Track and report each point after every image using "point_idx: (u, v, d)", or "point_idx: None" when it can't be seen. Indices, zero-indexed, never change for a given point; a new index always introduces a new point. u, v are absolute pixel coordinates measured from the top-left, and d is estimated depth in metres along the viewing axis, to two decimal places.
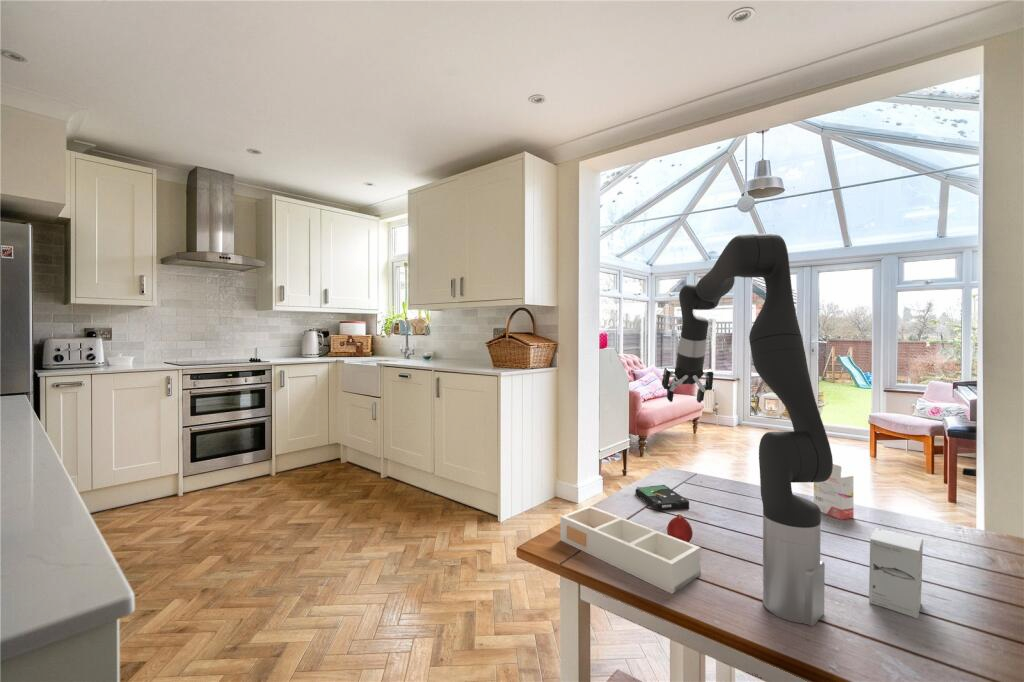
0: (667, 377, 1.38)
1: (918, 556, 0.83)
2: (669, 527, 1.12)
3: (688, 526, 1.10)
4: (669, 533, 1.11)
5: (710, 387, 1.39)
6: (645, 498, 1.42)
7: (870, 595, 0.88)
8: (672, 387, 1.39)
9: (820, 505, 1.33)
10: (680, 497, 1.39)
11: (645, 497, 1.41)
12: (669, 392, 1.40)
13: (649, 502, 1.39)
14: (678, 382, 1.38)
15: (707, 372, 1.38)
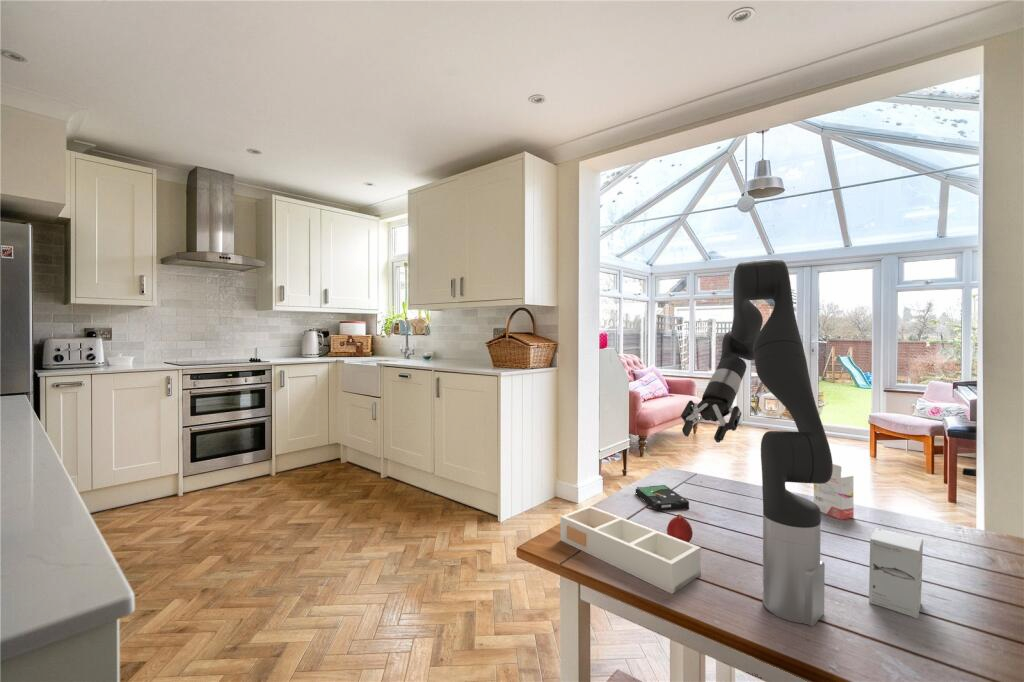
0: (688, 406, 1.28)
1: (918, 556, 0.83)
2: (669, 527, 1.12)
3: (688, 526, 1.10)
4: (669, 533, 1.11)
5: (731, 421, 1.17)
6: (645, 498, 1.42)
7: (870, 595, 0.88)
8: (689, 416, 1.25)
9: (820, 505, 1.33)
10: (680, 497, 1.39)
11: (645, 497, 1.41)
12: (686, 423, 1.25)
13: (649, 502, 1.39)
14: (696, 410, 1.25)
15: None
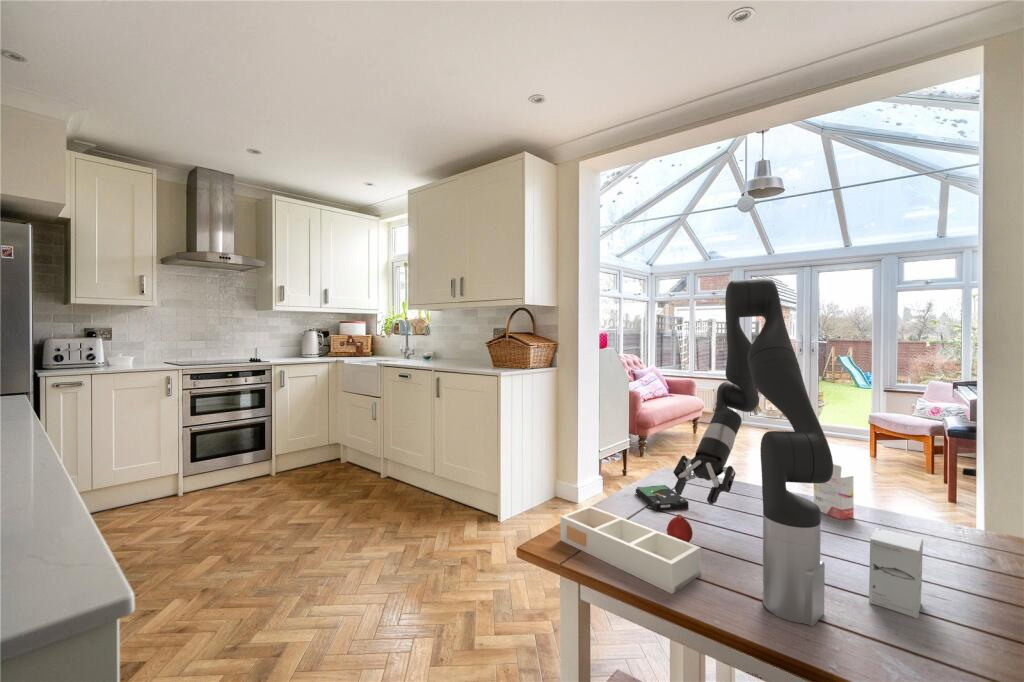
0: (681, 462, 1.24)
1: (918, 556, 0.83)
2: (669, 527, 1.12)
3: (688, 526, 1.10)
4: (669, 533, 1.11)
5: (725, 483, 1.13)
6: (644, 498, 1.42)
7: (870, 595, 0.88)
8: (682, 473, 1.21)
9: (820, 505, 1.33)
10: (680, 497, 1.39)
11: (645, 497, 1.42)
12: (678, 480, 1.21)
13: (648, 502, 1.39)
14: (689, 467, 1.21)
15: (727, 468, 1.16)
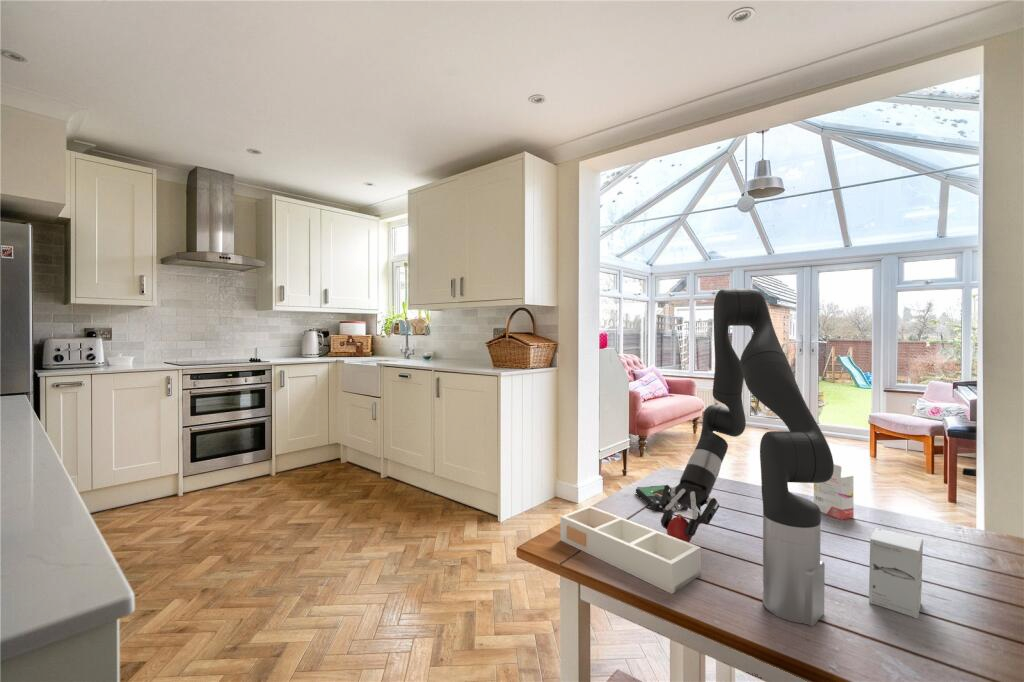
0: (665, 492, 1.19)
1: (918, 556, 0.83)
2: (669, 527, 1.12)
3: None
4: (669, 533, 1.11)
5: (703, 515, 1.09)
6: (644, 498, 1.42)
7: (870, 595, 0.88)
8: (669, 506, 1.15)
9: (820, 505, 1.33)
10: None
11: (645, 497, 1.42)
12: (665, 513, 1.15)
13: (648, 502, 1.39)
14: (674, 498, 1.16)
15: None
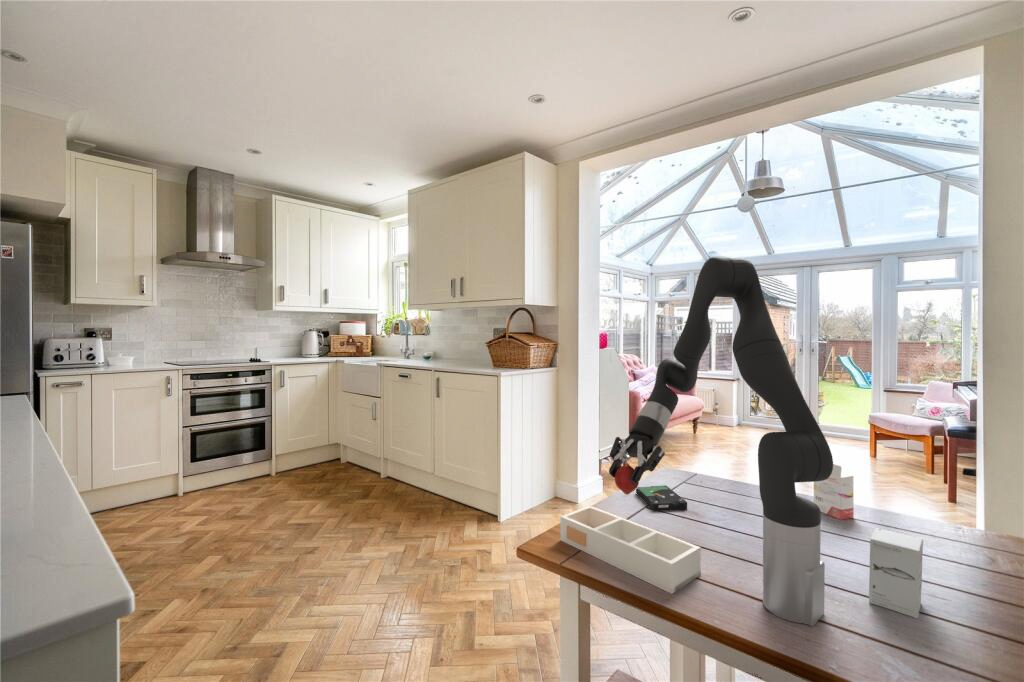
0: (615, 443, 1.21)
1: (918, 556, 0.83)
2: (616, 475, 1.14)
3: None
4: (616, 481, 1.14)
5: (648, 462, 1.11)
6: (644, 498, 1.42)
7: (870, 595, 0.88)
8: (617, 455, 1.18)
9: (820, 505, 1.33)
10: (679, 498, 1.39)
11: (644, 497, 1.42)
12: (613, 462, 1.18)
13: (647, 502, 1.39)
14: (623, 448, 1.18)
15: None
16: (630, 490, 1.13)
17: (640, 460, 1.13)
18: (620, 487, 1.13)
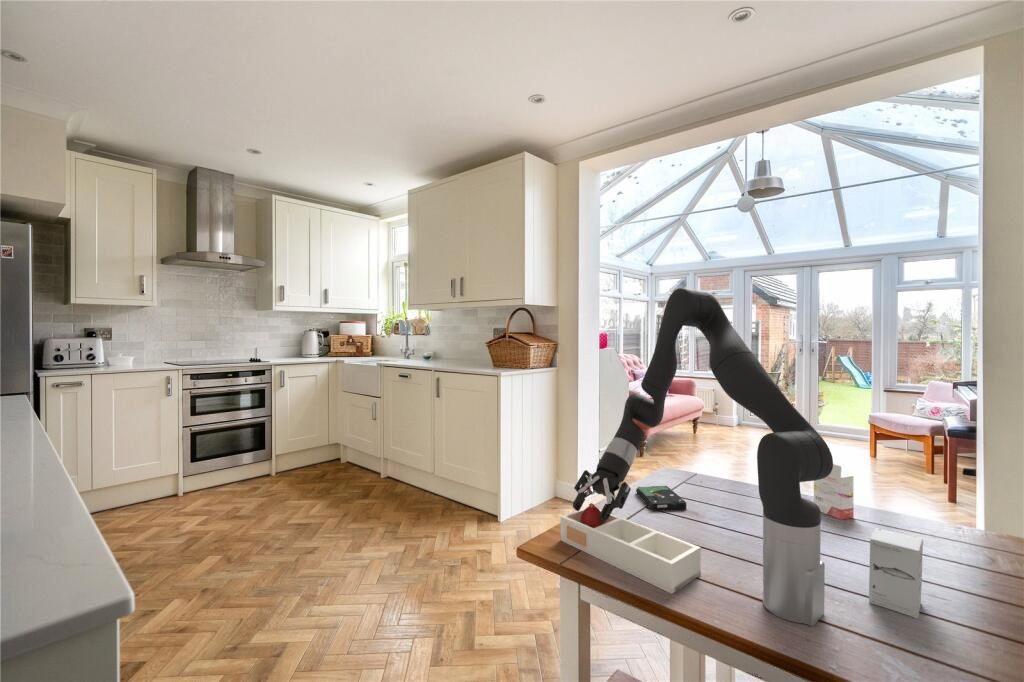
0: (582, 476, 1.22)
1: (918, 556, 0.83)
2: (581, 516, 1.15)
3: None
4: (581, 522, 1.15)
5: (617, 500, 1.11)
6: (643, 498, 1.42)
7: (870, 595, 0.88)
8: (582, 489, 1.20)
9: (820, 505, 1.33)
10: (678, 498, 1.38)
11: (644, 497, 1.42)
12: (577, 496, 1.19)
13: (646, 502, 1.39)
14: (588, 483, 1.19)
15: None
16: None
17: (609, 497, 1.13)
18: None
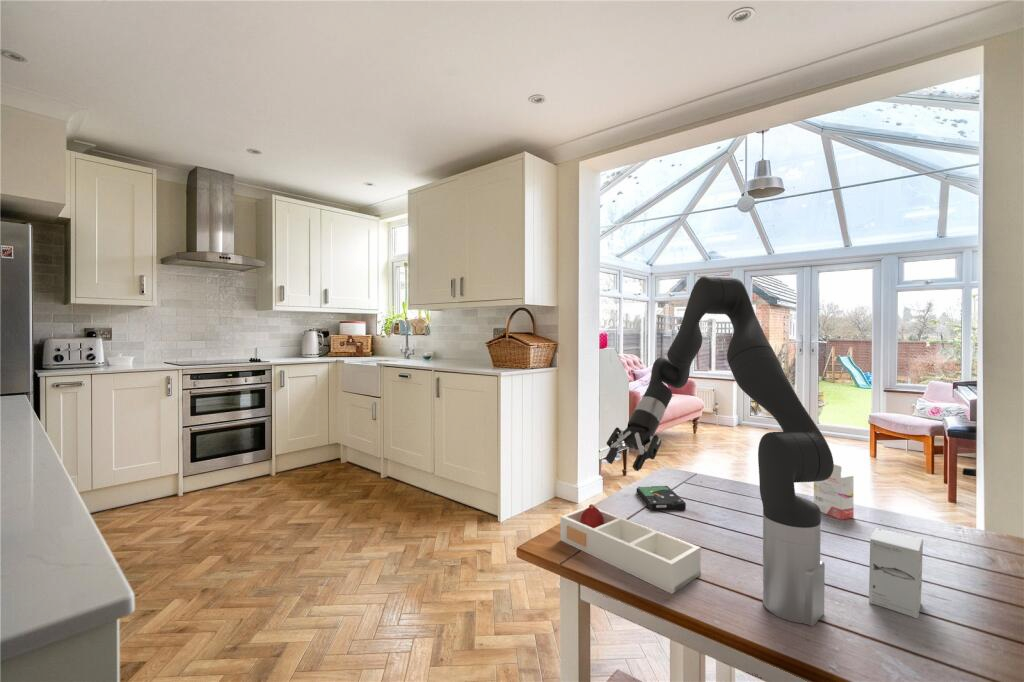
0: (614, 433, 1.30)
1: (918, 556, 0.83)
2: (581, 517, 1.15)
3: (599, 516, 1.14)
4: None
5: (649, 450, 1.19)
6: (643, 497, 1.42)
7: (870, 595, 0.88)
8: (614, 444, 1.28)
9: (820, 505, 1.32)
10: (678, 498, 1.38)
11: (643, 497, 1.42)
12: (610, 450, 1.27)
13: (646, 502, 1.40)
14: (620, 438, 1.27)
15: None
16: None
17: (641, 449, 1.21)
18: None
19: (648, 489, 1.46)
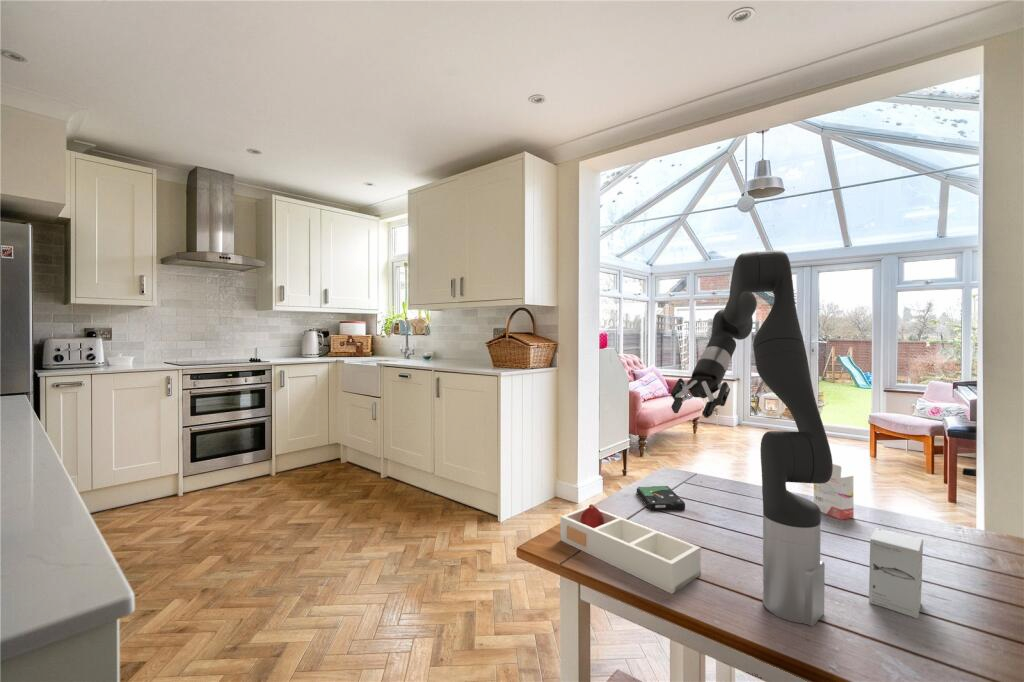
0: (677, 384, 1.28)
1: (918, 556, 0.83)
2: (581, 517, 1.15)
3: (599, 516, 1.14)
4: None
5: (719, 397, 1.17)
6: (642, 497, 1.42)
7: (870, 595, 0.88)
8: (679, 393, 1.25)
9: (820, 505, 1.33)
10: (677, 498, 1.38)
11: (643, 497, 1.42)
12: (675, 400, 1.25)
13: (645, 502, 1.40)
14: (686, 387, 1.25)
15: (722, 385, 1.20)
16: None
17: (710, 396, 1.19)
18: None
19: (648, 489, 1.46)
